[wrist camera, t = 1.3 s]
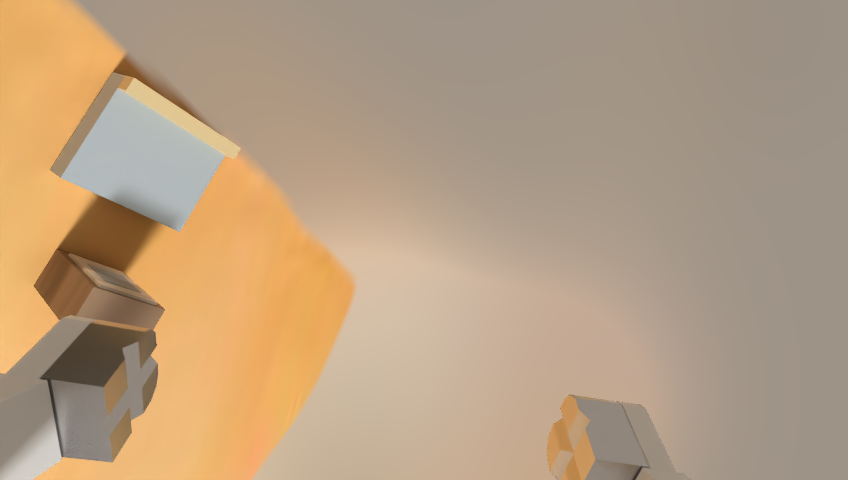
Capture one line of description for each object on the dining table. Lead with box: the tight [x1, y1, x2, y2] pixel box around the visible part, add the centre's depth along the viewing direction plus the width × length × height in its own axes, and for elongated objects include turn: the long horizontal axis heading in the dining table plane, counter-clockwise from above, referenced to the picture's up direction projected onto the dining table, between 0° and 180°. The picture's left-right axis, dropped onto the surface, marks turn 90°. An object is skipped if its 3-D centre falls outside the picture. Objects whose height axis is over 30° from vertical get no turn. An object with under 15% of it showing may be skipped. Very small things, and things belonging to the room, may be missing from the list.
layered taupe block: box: [34, 249, 165, 330], centre depth 37 cm, size 5×3×8 cm, turn 48°
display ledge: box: [50, 72, 241, 232], centre depth 39 cm, size 9×8×4 cm
